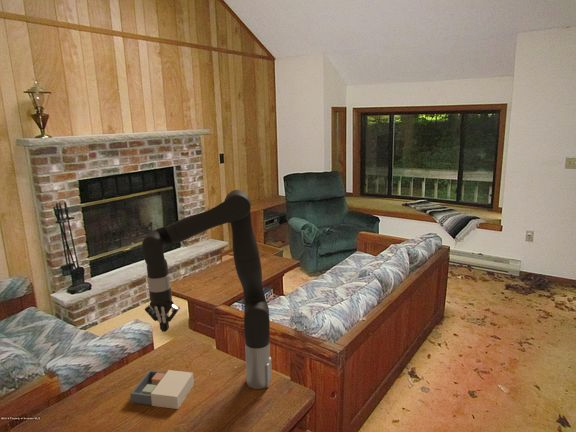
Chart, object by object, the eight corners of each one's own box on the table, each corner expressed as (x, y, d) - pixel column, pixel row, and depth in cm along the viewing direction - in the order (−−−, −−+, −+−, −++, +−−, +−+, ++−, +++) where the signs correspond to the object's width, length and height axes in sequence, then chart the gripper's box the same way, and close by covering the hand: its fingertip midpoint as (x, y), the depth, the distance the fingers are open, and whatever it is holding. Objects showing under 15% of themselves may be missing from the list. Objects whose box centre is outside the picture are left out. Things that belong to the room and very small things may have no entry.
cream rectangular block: (193, 384, 162) (193, 372, 160) (178, 409, 148) (177, 396, 147) (169, 381, 163) (168, 370, 162) (151, 405, 150) (150, 393, 149)
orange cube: (165, 373, 161) (156, 372, 162) (160, 379, 157) (151, 378, 158) (166, 382, 162) (157, 381, 163) (161, 389, 158) (152, 388, 159)
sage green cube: (156, 385, 154) (147, 384, 155) (150, 392, 150) (141, 391, 151) (157, 394, 155) (148, 393, 156) (151, 401, 151) (142, 400, 152)
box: (169, 381, 163) (168, 372, 162) (151, 405, 150) (150, 396, 149) (150, 379, 165) (149, 370, 164) (131, 403, 151) (130, 393, 150)
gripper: (181, 283, 152) (186, 326, 156) (147, 281, 154) (152, 324, 158) (172, 292, 144) (177, 337, 149) (137, 290, 147) (143, 335, 151)
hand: (164, 330), depth 154 cm, fingers closed
